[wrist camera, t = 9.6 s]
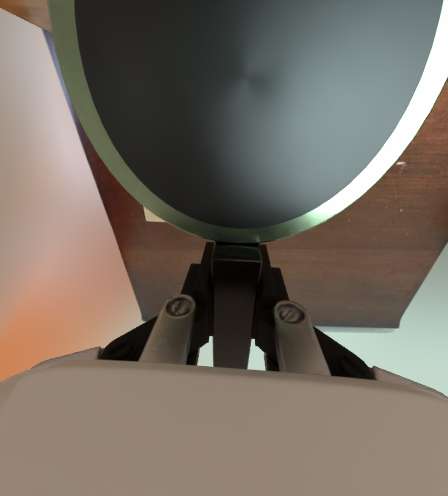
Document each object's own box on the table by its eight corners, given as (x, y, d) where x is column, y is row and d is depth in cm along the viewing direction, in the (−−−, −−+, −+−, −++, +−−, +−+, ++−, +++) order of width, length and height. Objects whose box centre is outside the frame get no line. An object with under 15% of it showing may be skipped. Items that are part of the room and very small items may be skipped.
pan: (302, 324, 14) (322, 386, 11) (163, 315, 15) (140, 372, 11) (461, -159, 5) (971, -814, 2) (69, -142, 5) (-224, -613, 2)
